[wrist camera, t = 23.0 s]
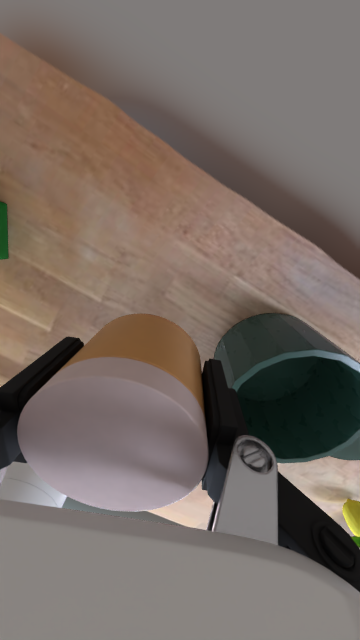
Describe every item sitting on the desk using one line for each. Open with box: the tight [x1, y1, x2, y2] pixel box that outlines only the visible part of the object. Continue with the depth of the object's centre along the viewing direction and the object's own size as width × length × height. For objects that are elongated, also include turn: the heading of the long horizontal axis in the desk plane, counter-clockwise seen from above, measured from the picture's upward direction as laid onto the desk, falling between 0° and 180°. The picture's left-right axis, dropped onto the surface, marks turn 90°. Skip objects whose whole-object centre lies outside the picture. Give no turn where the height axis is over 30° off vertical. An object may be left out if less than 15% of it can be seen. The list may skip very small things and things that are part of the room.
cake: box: [17, 314, 208, 511], centre depth 9 cm, size 6×6×5 cm
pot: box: [214, 313, 360, 463], centre depth 28 cm, size 17×17×11 cm
